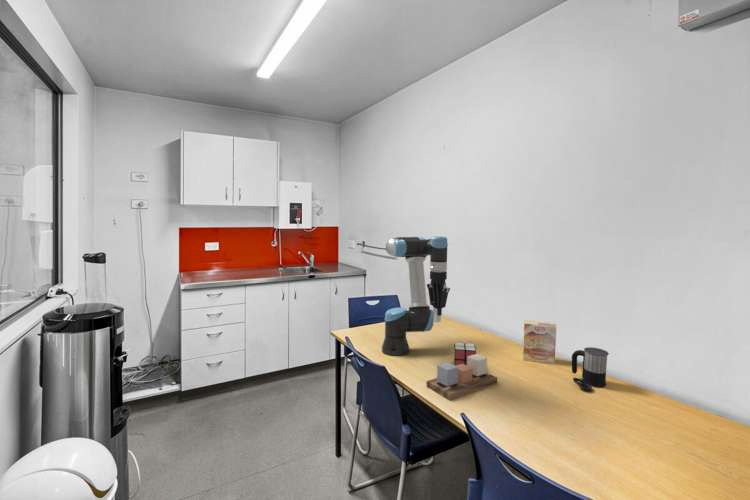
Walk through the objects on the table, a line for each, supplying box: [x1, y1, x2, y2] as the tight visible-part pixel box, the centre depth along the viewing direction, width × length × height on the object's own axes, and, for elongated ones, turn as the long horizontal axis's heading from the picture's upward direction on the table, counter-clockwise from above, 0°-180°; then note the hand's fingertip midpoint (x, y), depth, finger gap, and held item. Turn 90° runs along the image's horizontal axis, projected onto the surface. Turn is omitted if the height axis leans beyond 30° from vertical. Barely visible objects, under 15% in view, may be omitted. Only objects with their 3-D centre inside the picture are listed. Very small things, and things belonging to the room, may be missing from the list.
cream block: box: [467, 353, 488, 377], centre depth 163 cm, size 6×6×7 cm
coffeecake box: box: [522, 319, 557, 365], centre depth 186 cm, size 15×7×20 cm, turn 68°
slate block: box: [436, 361, 458, 387], centre depth 154 cm, size 6×6×7 cm
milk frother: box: [571, 346, 610, 392], centre depth 158 cm, size 14×16×15 cm
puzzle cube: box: [453, 342, 477, 366], centre depth 179 cm, size 10×10×10 cm
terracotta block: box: [456, 364, 474, 384], centre depth 159 cm, size 6×6×7 cm
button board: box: [426, 372, 498, 401], centre depth 159 cm, size 14×29×2 cm, turn 122°
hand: (437, 321), depth 166 cm, fingers closed
